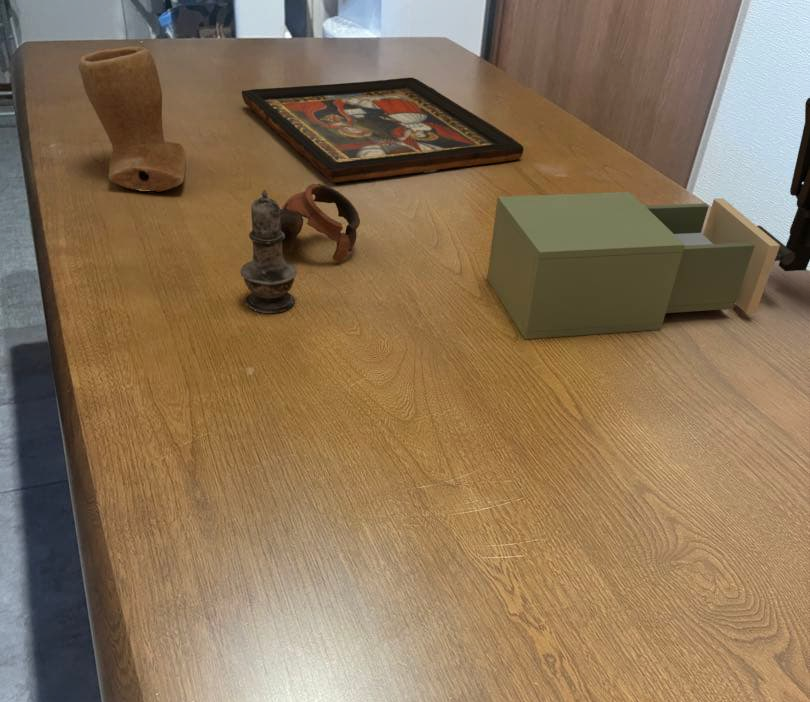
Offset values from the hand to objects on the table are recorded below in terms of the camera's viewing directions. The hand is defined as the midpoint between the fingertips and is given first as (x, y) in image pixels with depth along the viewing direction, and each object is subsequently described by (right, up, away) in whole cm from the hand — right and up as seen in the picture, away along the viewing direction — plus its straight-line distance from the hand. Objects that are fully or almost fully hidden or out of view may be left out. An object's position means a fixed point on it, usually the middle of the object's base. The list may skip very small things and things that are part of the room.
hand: (792, 267), depth 101 cm
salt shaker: (-59, -6, -7) cm, 60 cm away
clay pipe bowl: (-80, +17, +16) cm, 84 cm away
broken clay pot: (-57, +2, +2) cm, 57 cm away
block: (-14, -2, -2) cm, 14 cm away
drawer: (-12, -3, -1) cm, 13 cm away
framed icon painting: (-49, +31, +33) cm, 67 cm away
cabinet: (-26, -5, -4) cm, 27 cm away
